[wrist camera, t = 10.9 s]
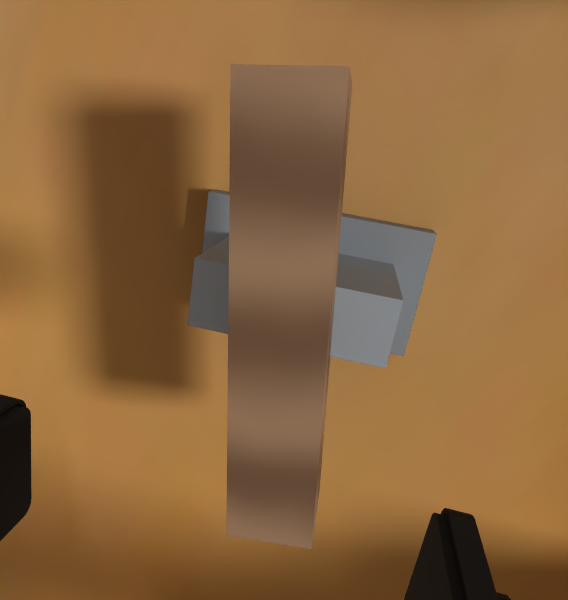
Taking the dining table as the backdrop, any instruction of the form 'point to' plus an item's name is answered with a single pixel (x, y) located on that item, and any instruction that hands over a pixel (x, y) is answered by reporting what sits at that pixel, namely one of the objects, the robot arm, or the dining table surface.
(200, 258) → the ridge
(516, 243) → the dining table surface
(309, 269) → the rod
